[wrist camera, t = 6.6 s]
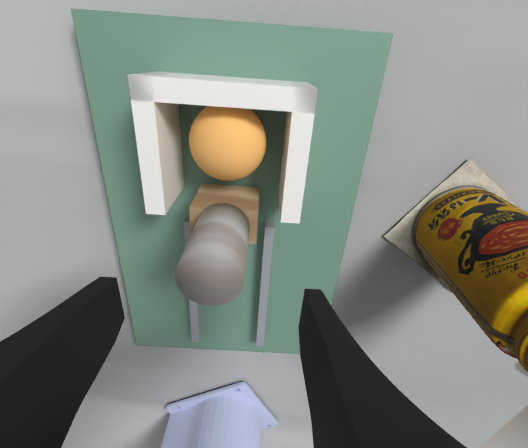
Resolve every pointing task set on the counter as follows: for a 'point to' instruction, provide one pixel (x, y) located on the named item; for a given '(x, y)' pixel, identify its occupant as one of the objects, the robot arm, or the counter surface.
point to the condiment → (475, 252)
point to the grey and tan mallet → (218, 243)
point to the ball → (227, 142)
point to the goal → (221, 95)
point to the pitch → (264, 176)
